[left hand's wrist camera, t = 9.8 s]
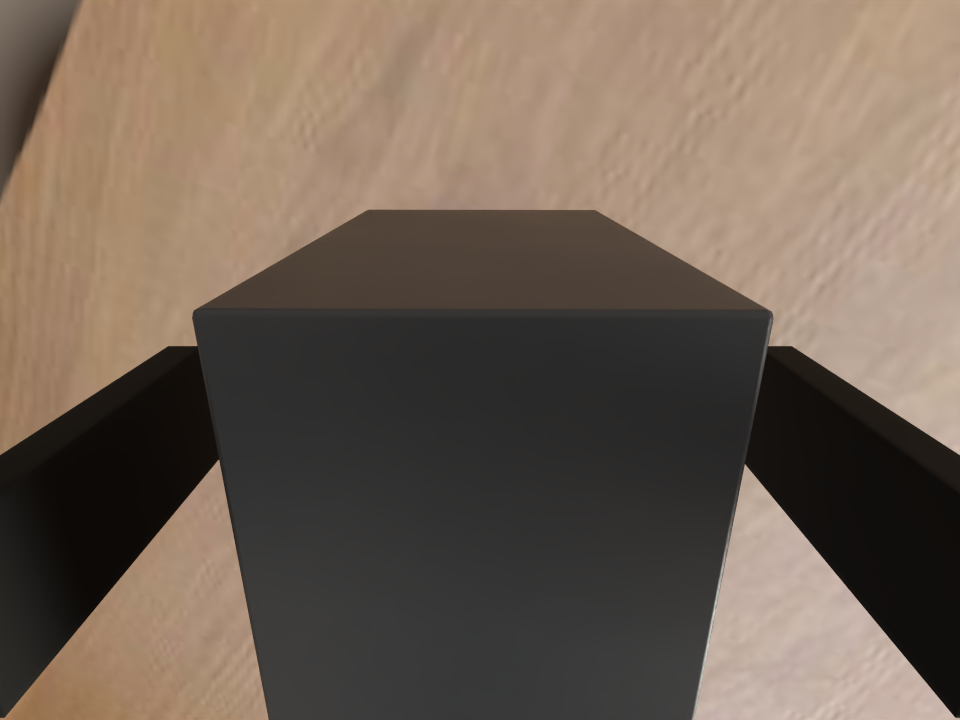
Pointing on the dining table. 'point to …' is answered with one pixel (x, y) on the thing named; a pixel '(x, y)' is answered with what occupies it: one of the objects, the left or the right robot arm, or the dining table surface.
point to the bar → (482, 465)
